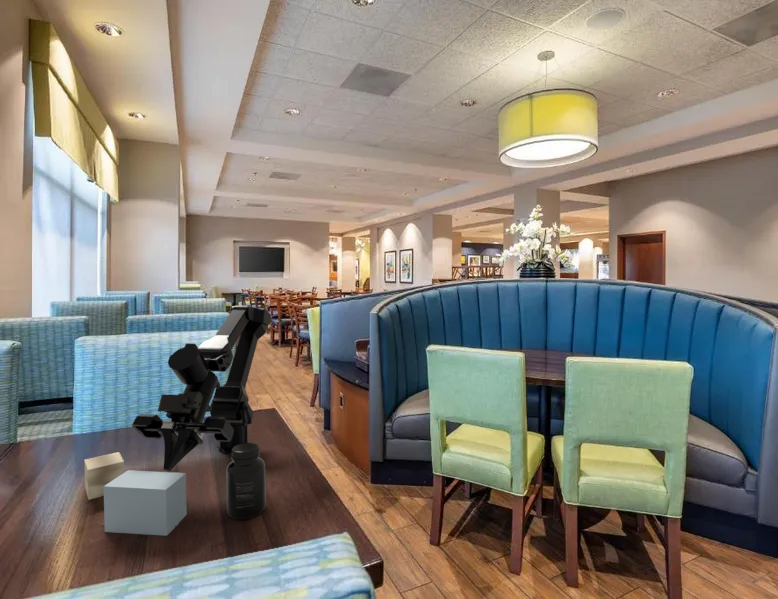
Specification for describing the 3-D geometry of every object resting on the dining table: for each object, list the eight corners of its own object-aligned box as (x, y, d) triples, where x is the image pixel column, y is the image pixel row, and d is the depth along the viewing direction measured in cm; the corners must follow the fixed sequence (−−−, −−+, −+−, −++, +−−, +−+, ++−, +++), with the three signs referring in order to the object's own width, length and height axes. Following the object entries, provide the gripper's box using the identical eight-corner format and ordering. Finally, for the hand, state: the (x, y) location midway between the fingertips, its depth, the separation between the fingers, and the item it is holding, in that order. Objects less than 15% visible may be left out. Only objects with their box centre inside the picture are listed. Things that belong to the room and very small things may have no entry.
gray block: (129, 512, 78) (128, 470, 78) (186, 516, 77) (185, 473, 77) (104, 532, 72) (103, 486, 72) (166, 536, 71) (165, 489, 71)
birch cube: (119, 479, 91) (118, 451, 90) (124, 490, 86) (124, 461, 86) (85, 488, 87) (84, 459, 86) (88, 500, 82) (87, 469, 82)
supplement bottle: (273, 504, 81) (272, 442, 80) (250, 524, 75) (249, 457, 74) (243, 498, 83) (242, 438, 83) (218, 516, 77) (217, 451, 76)
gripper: (137, 374, 85) (96, 450, 75) (226, 377, 84) (197, 455, 73) (161, 402, 94) (127, 474, 83) (243, 405, 92) (220, 478, 82)
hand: (166, 470), depth 80 cm, fingers closed
